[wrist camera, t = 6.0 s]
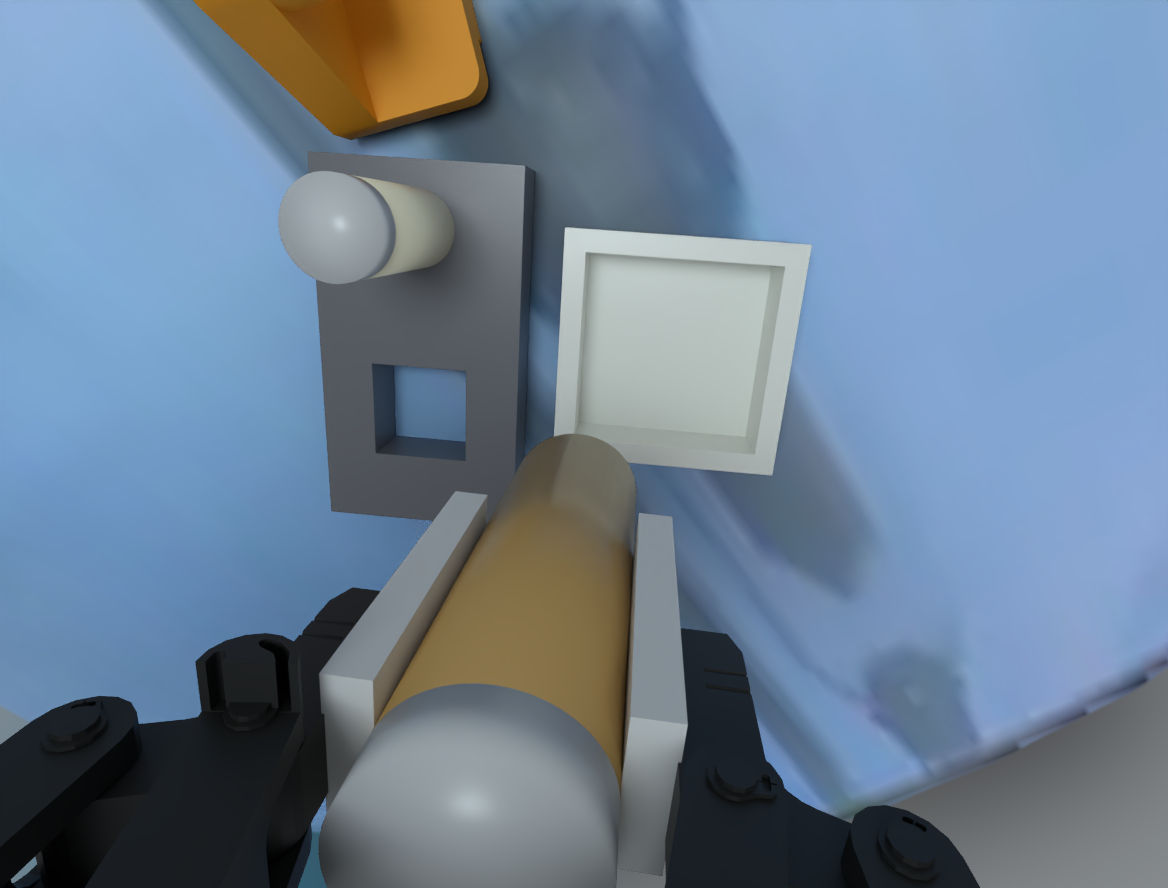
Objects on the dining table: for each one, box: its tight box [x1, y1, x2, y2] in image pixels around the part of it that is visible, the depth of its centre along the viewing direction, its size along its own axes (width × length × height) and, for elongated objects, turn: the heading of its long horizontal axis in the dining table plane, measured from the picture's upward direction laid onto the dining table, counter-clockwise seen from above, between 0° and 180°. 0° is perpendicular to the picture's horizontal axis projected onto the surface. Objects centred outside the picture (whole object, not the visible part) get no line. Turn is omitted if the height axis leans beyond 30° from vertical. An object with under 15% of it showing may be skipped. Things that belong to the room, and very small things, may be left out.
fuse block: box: [278, 151, 535, 526], centre depth 29 cm, size 18×10×12 cm, turn 176°
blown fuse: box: [319, 434, 637, 888], centre depth 13 cm, size 4×4×12 cm
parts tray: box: [554, 227, 812, 475], centre depth 32 cm, size 11×11×4 cm
